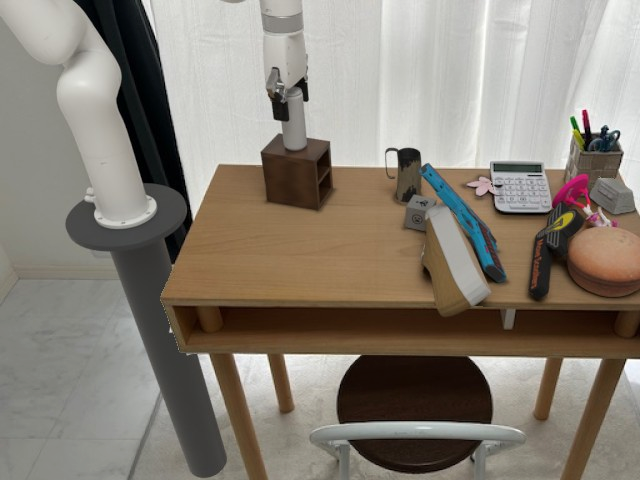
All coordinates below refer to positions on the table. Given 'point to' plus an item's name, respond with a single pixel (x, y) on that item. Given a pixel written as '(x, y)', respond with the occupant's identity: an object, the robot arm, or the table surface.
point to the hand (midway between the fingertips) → (291, 110)
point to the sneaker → (451, 263)
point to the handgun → (468, 223)
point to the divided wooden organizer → (297, 173)
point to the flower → (482, 186)
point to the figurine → (571, 194)
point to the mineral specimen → (613, 195)
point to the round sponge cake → (605, 261)
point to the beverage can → (294, 121)
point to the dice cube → (418, 211)
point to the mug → (407, 174)
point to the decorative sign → (552, 245)
